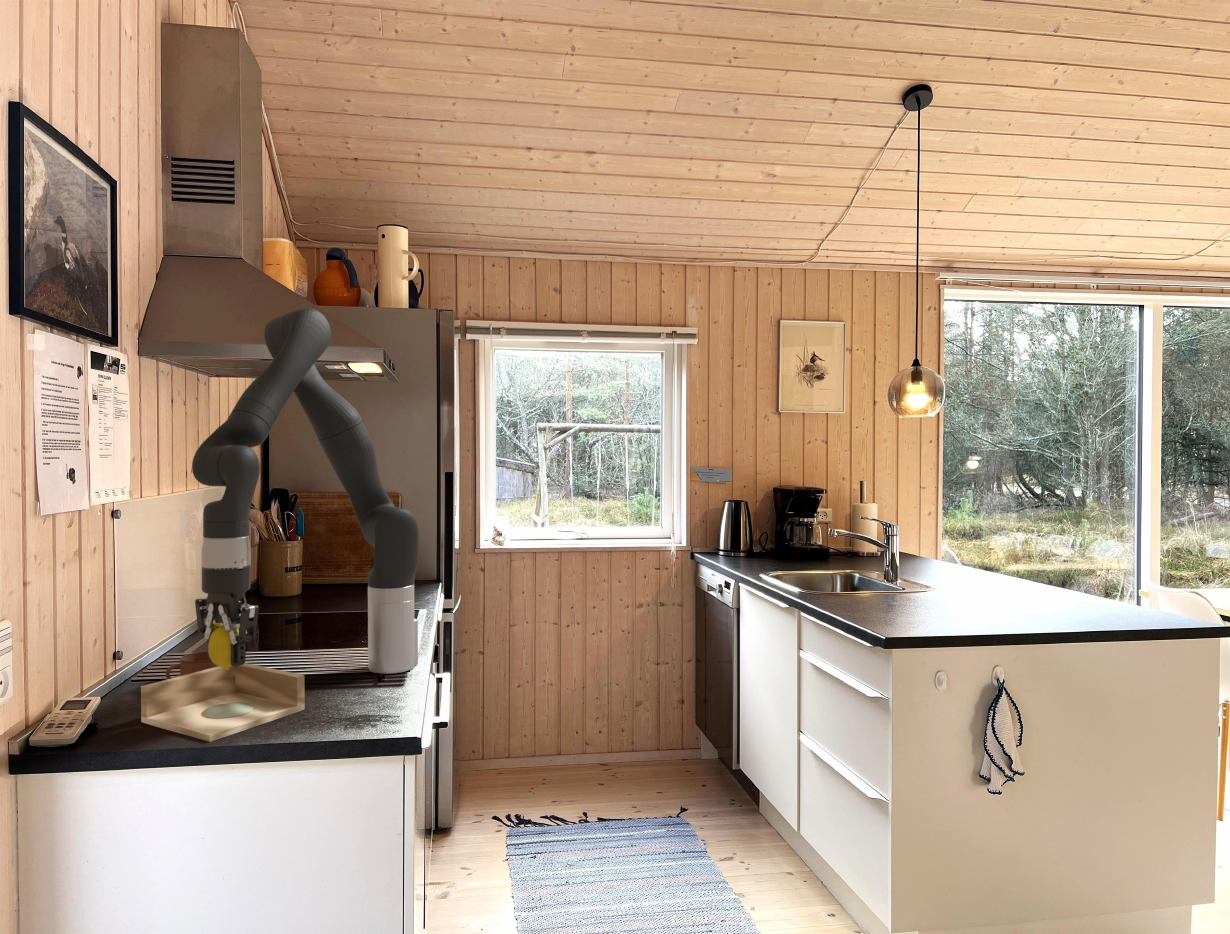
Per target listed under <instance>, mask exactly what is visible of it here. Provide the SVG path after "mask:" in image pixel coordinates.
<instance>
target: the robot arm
mask: <svg viewBox="0 0 1230 934" xmlns="http://www.w3.org/2000/svg"><path fill="white" fill-rule="evenodd" d="M331 329H332V328H331V325H330V323H329V321H328V319H327V318H326V317H325V315H324V314H323V313H322V312H321V311H320V310H318V309H315V308H311V307H301V308H297V309H295V310H291V311H289V312H287V313H283V314H281V315H278V316H276V317H274V318H273V319H271V320H269V321H268V322H267V323H266V325H265V327H264V331H263V333H264V334H263V335H264V336H263V337H264V342H265V345H266V347H267V350H268V352H269V354H270V356H271V357H272V361H271V363H269V364H268V366H267V367H266V368H265V369H264V370H263V371H262V372H261V373H260V374H259V375H257V377H256V378H255V379H254V380H253V381H252V382H251V383H250V385H248V386H247V388H246V389H245V390H244V391H243V392H242V394H241V395H240V397H239V399H238V400H237V402H236V403H235V405H234V407H233V408H232V411H231V412H230V414H229V416H228V417H227V419H226V420H225V422H224V421H223V422H222V424H220V425H219V426H218V427H217V428H216V429H215V430H214V431H213V432H212V433H211V434H210V435H209V436H208V437H207V438H206V439H205V440H203V442H202V443H201V444H200V446H199V447H198V448H197V449H196V452H195V453H194V456H193V458H192V461H191V463H192V464H191V472H192V474H193V477H194V479H195V480H196V481H197V482H198V483H200V484H201V485H204V486H206V487H207V486H208V487H224V488H225V490H224V492H223V495H222V497H221V499H219V500H215V501H212V502H209V503H207V504H206V505H205V506H204V508H203V513H202V514H203V515H202V521H203V522H202V525H203V526H202V528H203V529H202V546H201V591H202V593H204V594H207V596H206V597H202V598H201V597H200V598H196V599H195V600H194V605H195V613H196V615H195V616H196V623H197V632H198V634H199V635H202V634H203V635H204V638H205V639H206V640H207V643H206V644H207V645H206V646H207V647H206V650H207V651H206V652H207V654H208V660H209V661H211V659H210V657H209V653H208V644H209V640H210V636H211V634H212V633H213V632H214V630H216V629H217V628H218V627H220V626H222V625H223V624H224V627H225V630H226V631H227V632H229V635H230V639H231V642H232V644H231V665H232V666H240V665H243V664H244V663H246V658H247V657H246V656H247V653H246V649H247V645H246V644H247V642H250V641H252V640H255V639H256V633H257V627H258V626H257V625H258V619H259V611H260V609H259V606H258V605H257V604H254V605H253V604H252V605H251V604H248V603H247V599H246V593H247V592H248V591H249V590H250V589H251V586H252V585H251V584H252V581H251V579H252V578H251V577H252V573H251V572H252V571H251V570H252V569H251V566H252V565H251V564H252V563H251V562H252V559H251V551H252V550H251V543H250V536H249V535H250V510H251V505H252V503H253V499H254V496H255V492H256V488H257V485H258V481H259V478H260V473H261V465H260V464H261V463H260V459H259V456H258V455H257V453H256V452H255V450H254V449H253V448H254V447H258V446H260V445H262V444H263V443H264V442H265V440H266V439H267V438H268V436H269V435H270V433H271V431H272V428H273V427H274V425H275V423H276V421H277V420H278V418H279V415H280V414H281V412H282V410H283V408H284V407H285V405H286V404H287V402H288V401H289V398H290V397H291V396H292V394H293V393H294V394H295V396H296V398H297V401H298V402H299V404H300V405H301V408H302V409H303V411H304V413H305V415H306V417H307V419H308V421H309V423H310V425H311V427H312V429H313V431H314V434H315V435H316V437H317V440H318V442H319V444H320V446H321V447H322V450H323V453H324V454H325V456H326V457H327V459H328V461H329V463H330V465H331V467H332V469H333V470H334V473H335V474H336V476H337V478H338V479H339V480H338V481H339V482H340V483H341V485H342V487H343V489H344V490H345V492H346V494H347V496H348V498H349V501H350V503H351V505H352V509H353V511H354V514H355V516H356V518H357V522H358V525H359V528H360V530H361V533H362V536H363V537H364V539H365V541H366V542H367V543H368V544H369V545H370V546H371V547H372V548H374V553H373V555H374V557H373V558H374V560H373V566H372V569H370V571H369V572H368V573H367V619H368V620H367V635H368V636H367V640H368V641H367V646H368V648H367V649H368V650H367V652H368V653H367V655H368V656H367V659H368V661H367V665H368V666H367V669H369V670H368V671H369V672H372V673H375V674H376V673H377V674H397V673H398V674H399V673H403V672H407V671H410V670H413V669H414V668H415V666H417V665H418V664H419V636H418V635H419V627H418V625H419V623H418V622H419V621H418V619H417V618H415V578H416V577H415V576H416V573H417V570H418V565H419V548H420V547H419V545H420V541H419V540H420V538H419V537H420V534H419V533H420V531H419V525H418V521H417V519H416V517H415V516H414V514H413V513H412V512H411V511H409V510H407V509H405V508H401V507H397V506H395V504H394V503H393V501H392V500H391V498H390V496H389V495H388V493H387V490H385V486H384V485H383V483H382V480H381V478H380V473H379V470H378V463H377V457H376V456H377V455H376V452H375V446H374V442H373V441H372V438H371V436H370V433H369V431H368V429H367V427H366V425H365V422H364V421H363V419H362V417H361V415H360V413H359V412H358V410H357V409H356V408H355V407H354V405H352V404H351V403H350V402H349V401H348V400H346V399H345V398H344V397H343V396H342V395H341V394H339V393H338V391H335V390H334V389H333V388H332V387H331V386H330V385H329V384H328V383H327V382H326V380H325V379H324V378H323V377H322V375H321V373H320V372H319V370H318V369H317V367H316V365H315V363H316V362H317V361H318V360H319V358H320V357H322V355H323V353H324V352H326V350H327V349H328V347H329V345H330V343H331V339H332V330H331ZM238 622H239V623H238ZM247 629H248V630H247ZM236 630H239V634H238V636H237V634H236Z"/></svg>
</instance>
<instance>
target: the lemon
mask: <svg viewBox="0 0 1230 934" xmlns="http://www.w3.org/2000/svg"><path fill="white" fill-rule="evenodd" d="M236 634H237V636H238V634H239V630H236ZM231 644H232V642H231V639H230V635H229V632H227V631H226V630H225V627H224V624H223V625H222V626H220V627H218V628H217V629H216V630H214V632H213V633H212V634H211V636H210V640H209V644H208V650H207V651H208V653H209V657H210V659H211V661H212V662H213V663H214V664H216V665H217V666H220V667H222V668H223V669H224V670H228V669H229V668H230V667H231V666H232V665H231Z"/></svg>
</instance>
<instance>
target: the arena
mask: <svg viewBox="0 0 1230 934" xmlns="http://www.w3.org/2000/svg"><path fill="white" fill-rule="evenodd" d="M174 677H175V676H174ZM305 692H306V691H305V675H304V674H299V673H295V672H290V671H285V670H282V669H281V670H280V669H276V668H270V667H266V666H260V665H255V664H252V663H246V662H245V663H244V664H243V665H240V666H231V667H230V668H229V669H228V670H224V669H223V668H222V667H220V666H218V667H214V668H210V669H206V670H202V671H199V672H195V673H191V674H187V675H183V676H179V677H175V678H171V679H164V680H161V681H157V682H152V683H149V684H145V685H141V686H140V709H141V710H140V715H141V718H140V720H141V723H143V724H147V725H148V726H149V725H150V726H153V727H156V728H160V729H163V730H168V731H170V732H174V733H178V734H182V735H185V736H189V737H192V738H195V739H199V740H203V741H205V742H214V741H217V740H219V739H222V738H225V737H228V736H232V735H235V734H237V733H240V732H242V731H246V730H249V729H252V728H255V727H257V726H261V725H263V724H267V723H269V722H272V721H275V720H278V719H281V718H284V717H287V716H290V715H293V714H295V713H299V712H301V711H304V710H305V707H306V705H305V694H306V693H305Z"/></svg>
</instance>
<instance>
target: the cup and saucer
mask: <svg viewBox="0 0 1230 934" xmlns="http://www.w3.org/2000/svg"><path fill="white" fill-rule="evenodd" d="M214 667H218V666H217V665H216V664H214V663H213V662H212V661H209V660H208V654H207V651H198V652H197V651H196V652H191V653H188V654H185V655H182V656H180V658H179V664H178V663H176V664H172V665H171V666H169V667H168V668H167V669H166V671H165V678H166V680H168V679H171V678H175V677H179V676H183V675H187V674H191V673H195V672H199V671H202V670H206V669H210V668H214ZM175 669H178V670H180V674H179V675H174V676H172V677H171V675H170V673H171V671H172V670H175Z"/></svg>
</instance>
